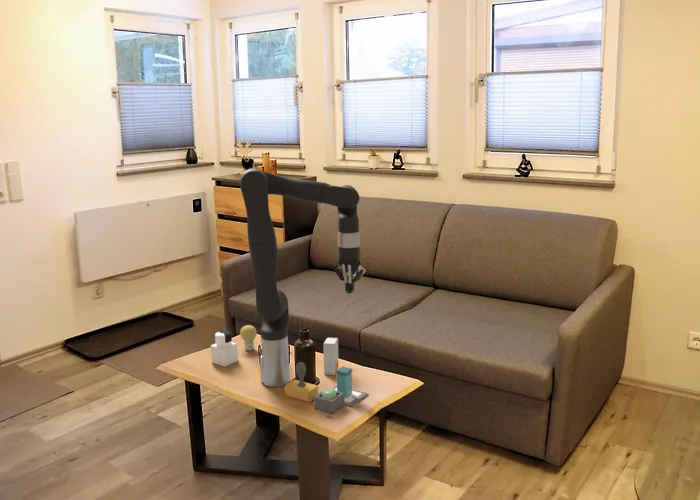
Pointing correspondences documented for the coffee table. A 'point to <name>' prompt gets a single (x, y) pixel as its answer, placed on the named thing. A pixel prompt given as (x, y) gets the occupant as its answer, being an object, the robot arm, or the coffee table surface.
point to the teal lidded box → (344, 381)
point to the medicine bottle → (224, 349)
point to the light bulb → (248, 336)
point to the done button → (329, 393)
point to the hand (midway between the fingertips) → (349, 292)
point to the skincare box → (330, 356)
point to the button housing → (329, 403)
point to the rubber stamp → (301, 386)
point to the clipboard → (353, 397)
